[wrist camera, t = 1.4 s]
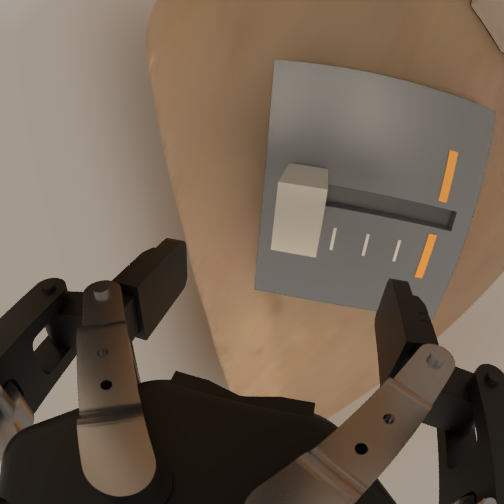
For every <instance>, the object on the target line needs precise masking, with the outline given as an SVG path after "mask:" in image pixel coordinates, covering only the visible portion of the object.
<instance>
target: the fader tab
mask: <svg viewBox="0 0 504 504" xmlns="http://www.w3.org/2000/svg"><path fill="white" fill-rule="evenodd" d="M327 192H328V169H325V168H319V167H313V166H306V165H300V164H293V163H289V165H288V166H287V168H286V170H285V171H284V173H283V175H282V176H281V178H280V179H279V181H278V187H277V197H276V206H275V215H274V224H273V233H272V242H271V250H275V251H281V252H286V253H292V254H298V255H303V256H309V257H315V258H316V254H317V249H318V244H319V238H320V233H321V227H322V222H323V216H324V210H325V204H326V198H327Z"/></svg>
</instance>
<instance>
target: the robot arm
mask: <svg viewBox="0 0 504 504" xmlns="http://www.w3.org/2000/svg"><path fill="white" fill-rule="evenodd" d="M186 280H187V253H186V243H185V242H184V241H181V240H175V239H170V238H166V239H165V240H164V241H163V242H161V243H160V244H159V246H157V247H156V248H151V249H149V250H147V251H145V252H143V253H141V254H140V255H139V256H138V257H137V258H136V260H134V261H133V262H132V263H130V266H129V265H128V266H127V267H126V268H125V269H124V270H123V271H122V272H121V273H120V274H119V275H118V276H117V277H116V278H114V279H113V280H112V281H108V280H104V281H98V282H95V283H92V284H91V285H89V286H88V287H87V288H86V289H85V290H84V292H69V291H67V287H66V283H65V281H64V280H62V279H59V278H50V279H46V280H43V281H41V282H39V283H38V284H37V285H36V286H35V287H33V288H32V289H31V290H30V291H29V292H28V293H27V294H26V295H25V296H23V297H22V298H21V299H20V300H19V301H18V302H17V303H16V304H15V305H14V306H13V307H12V308H11V309H10V310H9V311H7V312H6V313H5V314H4V315H3V316H2V317H1V318H0V463H2V465H1V475H0V504H396V502H395V501H394V500H393V499H392V497H391V496H390V494H389V493H388V492H387V490H386V489H385V488H384V487H383V485H382V484H381V482H380V481H379V480H378V477H379V476H380V475H381V473H382V472H383V471H384V470H385V469H386V468H387V466H388V465H389V464H390V463H391V462H392V460H393V459H394V458H395V457H396V456H397V454H398V453H399V452H400V451H401V449H402V448H403V447H404V445H405V444H406V443H407V442H408V440H409V439H410V438H411V436H412V435H413V433H414V432H415V431H416V429H417V428H418V427H419V425H420V424H421V423H425V424H427V425H430V426H433V427H436V428H437V438H438V453H439V504H504V374H503V372H502V371H501V370H499V369H498V368H497V367H495V366H493V365H490V364H483V365H480V366H479V367H478V368H477V369H476V371H475V372H474V373H471V372H468V371H466V370H463V369H460V368H458V367H455V361H454V358H453V356H452V355H451V354H450V352H449V351H447V350H446V349H445V348H443V347H441V346H439V345H438V341H437V338H436V335H435V332H434V328H433V325H432V323H431V319H430V316H429V315H428V311H427V308H426V305H425V304H424V302H423V301H422V300H421V299H420V298H419V297H418V296H415V295H413V294H412V291H411V288H410V285H409V282H408V281H403V280H397V279H392V278H390V279H389V280H388V281H387V284H386V287H385V290H384V293H383V296H382V298H381V301H380V304H379V307H378V310H377V313H376V317H375V333H376V343H377V353H378V364H379V376H380V388H379V389H378V390H377V391H376V392H375V393H374V394H373V395H372V396H371V397H370V398H369V399H368V400H367V401H366V402H365V403H364V404H363V405H362V406H361V407H360V408H359V409H358V410H357V411H356V412H355V413H354V414H353V415H352V416H350V417H349V418H348V419H347V420H346V421H345V422H344V423H343V424H342V425H341V426H340V427H337V426H336V425H334V424H333V423H332V422H330V421H328V420H327V419H325V418H323V417H321V416H319V415H317V414H315V413H314V408H315V403H312V402H306V401H300V400H295V399H289V398H284V397H245V396H239V395H237V394H235V393H233V392H231V391H229V390H227V389H225V388H223V387H221V386H219V385H217V384H215V383H213V382H211V381H209V380H206V379H202V378H199V377H195V376H191V375H188V374H184V373H181V372H178V371H176V372H175V373H174V375H173V377H172V379H171V380H153V381H147V382H143V383H141V381H140V377H139V373H138V368H137V363H136V359H135V354H134V349H133V344H132V341H133V339H134V338H135V337H137V338H141V339H143V340H147V339H148V338H149V336H150V335H151V333H152V332H153V331H154V329H155V328H156V326H157V325H158V324H159V322H160V321H161V319H162V318H163V317H164V315H165V314H166V313H167V311H168V310H169V308H170V307H171V306H172V304H173V303H174V301H175V300H176V299H177V297H178V296H179V295H180V293H181V292H182V290H183V289H184V287H185V285H186ZM44 327H45V328H46V331H47V333H48V336H47V337H46V339H45V340H44V341H43V342H42V343H41V344H40V345H39V347H38V348H37V349H36V350H35V351H33V341H34V339H35V337H36V336H37V335H38V333H39V332H40V331H41V330H42V329H43V328H44ZM76 355H77V383H78V401H79V408H78V409H75V410H73V411H70V412H67V413H64V414H62V415H59V416H56V417H54V418H51V419H48V420H45V421H42V422H40V423H37V424H34V425H33V422H34V413H35V412H36V410H37V409H38V407H39V406H40V404H41V403H42V402H43V400H44V399H45V397H46V396H47V394H48V393H49V392H50V390H51V389H52V387H53V386H54V384H55V383H56V382H57V381H58V379H59V378H60V376H61V375H62V374H63V372H64V371H65V370H66V368H67V367H68V366H69V364H70V363H71V361H72V360H73V359H74V358H75V356H76ZM475 427H476V431H477V441H476V434H475Z"/></svg>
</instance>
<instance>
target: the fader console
mask: <svg viewBox="0 0 504 504" xmlns="http://www.w3.org/2000/svg"><path fill="white" fill-rule="evenodd" d="M495 113H496V111H494V110H492V109H489V108H487V107H484V106H482V105H479V104H477V103H474V102H471V101H469V100H466V99H463V98H460V97H458V96H455V95H452V94H449V93H446V92H443V91H439V90H436V89H433V88H430V87H426V86H423V85H419V84H416V83H412V82H408V81H404V80H401V79H397V78H392V77H388V76H384V75H379V74H375V73H370V72H365V71H360V70H354V69H349V68H343V67H336V66H330V65H323V64H315V63H307V62H298V61H287V60H275V61H274V73H273V85H272V97H271V109H270V120H269V132H268V143H267V155H266V166H265V177H264V189H263V200H262V211H261V222H260V233H259V244H258V255H257V266H256V276H255V287H254V290H259V291H264V292H270V293H275V294H280V295H285V296H291V297H296V298H302V299H307V300H313V301H319V302H324V303H330V304H336V305H342V306H348V307H354V308H360V309H366V310H372V311H377V310H378V307H379V304H380V301H381V298H382V296H383V293H384V290H385V287H386V284H387V281H388V280H389V279H390V278H392V279H397V280H403V281H408V282H409V285H410V288H411V291H412V294H413V295H415V296H418V297H419V298H420V299H421V300H422V301H423V302H424V304H425V305H426V308H427V311H428V315H429V316H430V319H431V320H433V318H434V316H435V313H436V311H437V309H438V307H439V305H440V302H441V300H442V298H443V296H444V293H445V291H446V289H447V286H448V284H449V281H450V279H451V277H452V274H453V272H454V269H455V266H456V264H457V261H458V259H459V256H460V253H461V250H462V248H463V245H464V242H465V239H466V236H467V233H468V230H469V227H470V224H471V221H472V217H473V214H474V211H475V207H476V204H477V200H478V196H479V193H480V189H481V185H482V181H483V177H484V173H485V168H486V164H487V159H488V154H489V149H490V144H491V139H492V133H493V127H494V120H495ZM289 163H293V164H300V165H306V166H313V167H319V168H325V169H328V192H327V198H326V204H325V210H324V216H323V222H322V227H321V233H320V238H319V244H318V249H317V254H316V258H315V257H309V256H303V255H298V254H292V253H286V252H281V251H275V250H271V242H272V233H273V224H274V215H275V206H276V197H277V187H278V181H279V179H280V178H281V176H282V175H283V173H284V171H285V170H286V168H287V166H288V165H289Z"/></svg>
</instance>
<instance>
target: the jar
mask: <svg viewBox="0 0 504 504" xmlns="http://www.w3.org/2000/svg"><path fill="white" fill-rule="evenodd" d="M471 7H472V8H473V9H474V11H475V12H476V14H477V15H478V16H479V18H480V19H481V21H482V22H483V24H484V25H485V27H486V28H487V30H488V31H489V33H490V34H491V36H492V38H493V39H494V41H495V42H496V44H497V46H498V47H499V49H500V51H501V52H502V53H504V0H472V2H471Z"/></svg>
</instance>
